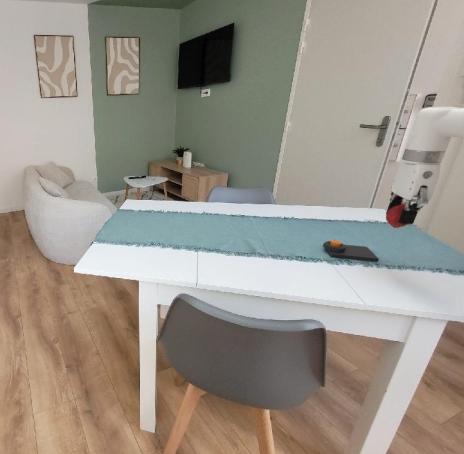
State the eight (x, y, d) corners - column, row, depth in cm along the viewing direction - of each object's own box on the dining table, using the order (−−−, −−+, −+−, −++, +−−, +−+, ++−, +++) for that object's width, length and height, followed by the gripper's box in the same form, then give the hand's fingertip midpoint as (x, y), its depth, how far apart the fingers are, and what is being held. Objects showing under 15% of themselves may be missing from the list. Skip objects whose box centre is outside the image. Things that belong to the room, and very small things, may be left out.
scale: (365, 250, 104) (368, 242, 102) (377, 262, 96) (380, 254, 95) (319, 245, 108) (321, 238, 107) (327, 257, 101) (329, 249, 99)
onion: (409, 233, 82) (420, 206, 79) (382, 228, 86) (391, 203, 82) (408, 226, 86) (418, 201, 83) (382, 222, 90) (391, 197, 86)
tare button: (338, 244, 103) (339, 240, 103) (341, 248, 101) (342, 244, 100) (328, 243, 104) (329, 239, 104) (331, 247, 102) (332, 243, 101)
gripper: (465, 163, 69) (434, 232, 76) (420, 151, 84) (398, 210, 91) (424, 162, 71) (398, 229, 78) (388, 151, 86) (369, 208, 93)
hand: (398, 218), depth 85 cm, fingers closed on onion, 5 cm apart
